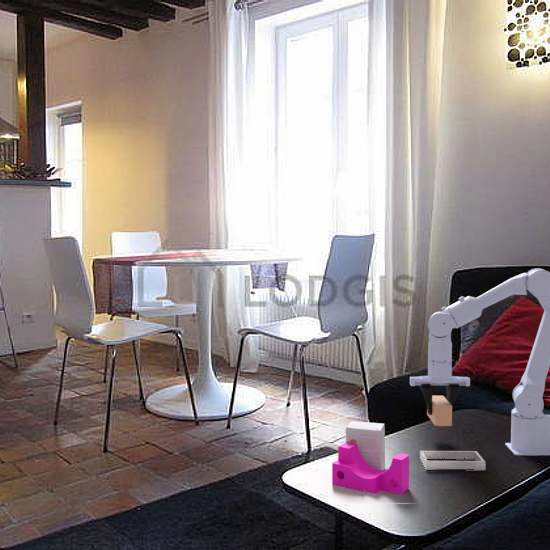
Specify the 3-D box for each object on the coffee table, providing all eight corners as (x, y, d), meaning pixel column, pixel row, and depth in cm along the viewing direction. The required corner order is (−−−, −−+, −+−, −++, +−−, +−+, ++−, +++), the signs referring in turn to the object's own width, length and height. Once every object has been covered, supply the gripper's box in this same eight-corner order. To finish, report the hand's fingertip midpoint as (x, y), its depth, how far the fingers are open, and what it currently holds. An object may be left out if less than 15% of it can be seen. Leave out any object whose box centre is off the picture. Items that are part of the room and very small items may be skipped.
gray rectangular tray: (476, 461, 151) (476, 451, 151) (485, 473, 144) (485, 462, 144) (419, 461, 151) (419, 450, 151) (425, 472, 144) (425, 461, 144)
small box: (385, 468, 147) (385, 423, 146) (381, 477, 141) (381, 430, 141) (350, 464, 149) (350, 420, 149) (345, 473, 144) (345, 427, 143)
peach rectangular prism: (442, 414, 166) (443, 395, 166) (451, 426, 156) (452, 405, 156) (427, 414, 166) (427, 395, 166) (435, 425, 156) (435, 405, 156)
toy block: (332, 483, 139) (332, 449, 138) (346, 474, 144) (346, 441, 143) (396, 500, 130) (396, 463, 129) (409, 490, 135) (409, 455, 135)
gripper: (465, 357, 164) (464, 409, 165) (407, 357, 164) (407, 409, 165) (472, 362, 157) (471, 417, 158) (412, 362, 157) (412, 417, 158)
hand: (439, 413), depth 161 cm, fingers closed on peach rectangular prism, 4 cm apart
